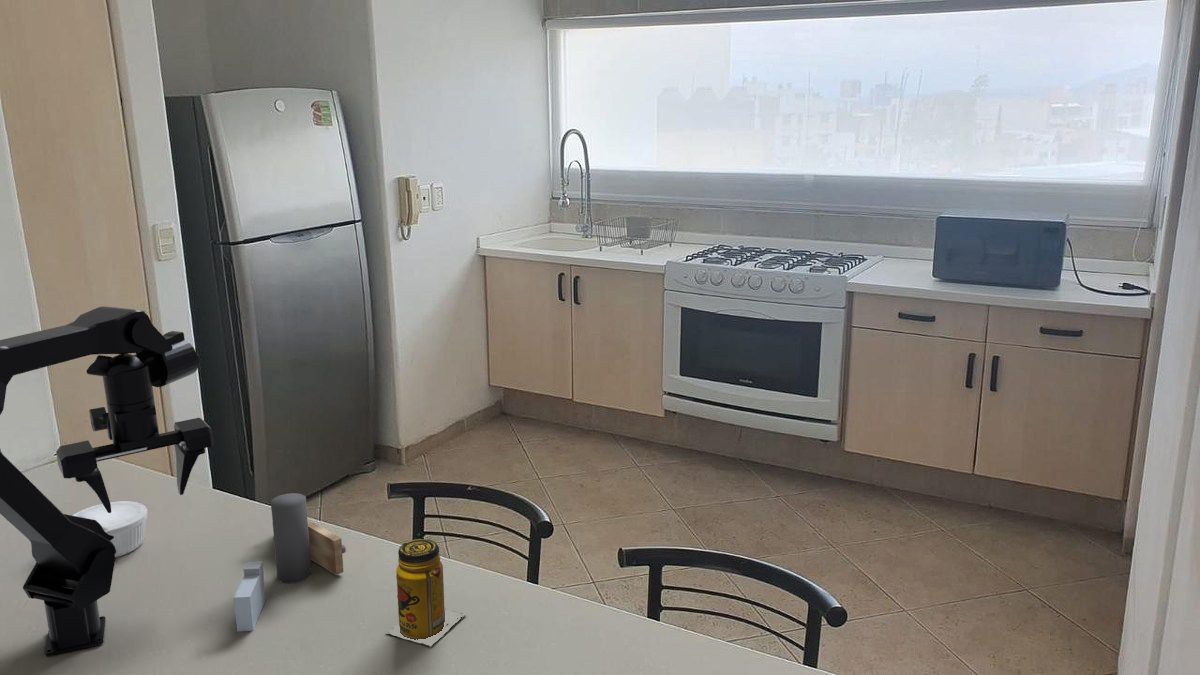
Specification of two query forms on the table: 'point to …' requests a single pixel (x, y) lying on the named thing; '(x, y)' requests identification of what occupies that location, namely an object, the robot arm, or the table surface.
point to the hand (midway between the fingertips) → (145, 502)
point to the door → (325, 548)
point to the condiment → (420, 589)
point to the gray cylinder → (291, 537)
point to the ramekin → (120, 523)
